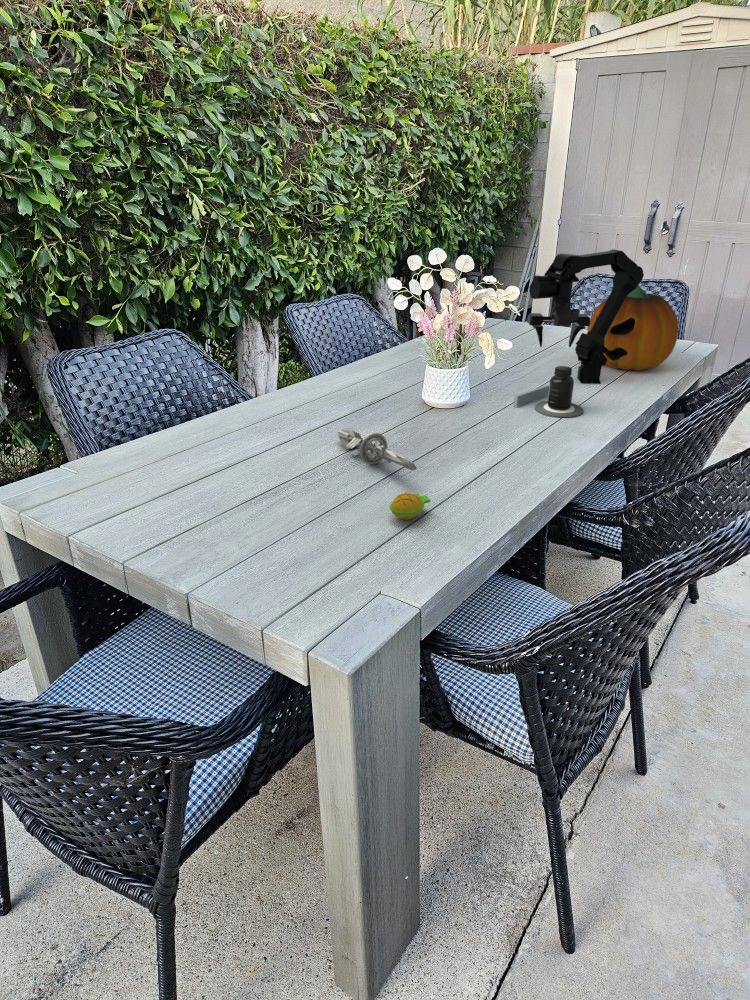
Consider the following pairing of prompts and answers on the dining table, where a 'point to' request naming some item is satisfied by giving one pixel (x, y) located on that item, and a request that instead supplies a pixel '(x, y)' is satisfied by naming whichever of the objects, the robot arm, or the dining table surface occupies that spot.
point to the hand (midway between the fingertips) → (555, 346)
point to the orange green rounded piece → (408, 505)
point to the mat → (570, 413)
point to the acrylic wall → (531, 396)
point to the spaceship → (372, 448)
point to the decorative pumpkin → (639, 332)
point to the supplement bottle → (561, 389)
